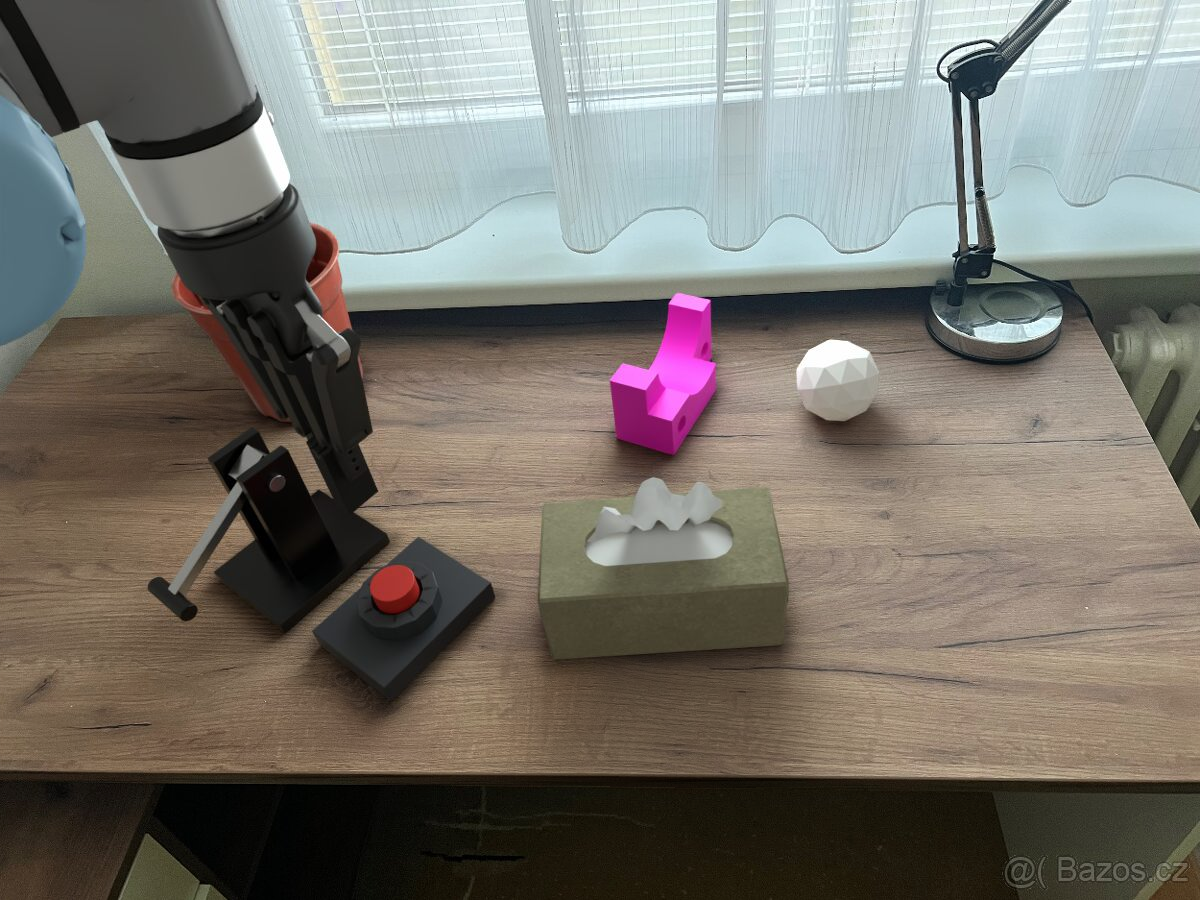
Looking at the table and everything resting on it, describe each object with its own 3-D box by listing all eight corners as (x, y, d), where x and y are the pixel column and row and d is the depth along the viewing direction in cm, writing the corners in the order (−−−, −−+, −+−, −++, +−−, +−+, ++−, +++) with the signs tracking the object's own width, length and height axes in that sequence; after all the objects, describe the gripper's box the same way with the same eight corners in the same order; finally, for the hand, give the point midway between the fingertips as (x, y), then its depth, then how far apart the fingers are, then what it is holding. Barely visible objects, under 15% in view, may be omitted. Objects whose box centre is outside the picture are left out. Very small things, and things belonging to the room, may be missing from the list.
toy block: (673, 455, 84) (670, 396, 79) (616, 438, 87) (609, 380, 82) (733, 363, 93) (733, 305, 88) (679, 350, 96) (677, 293, 90)
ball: (814, 419, 90) (800, 343, 89) (894, 408, 86) (880, 327, 85) (793, 434, 83) (777, 352, 82) (878, 422, 79) (863, 335, 78)
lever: (196, 624, 69) (172, 618, 67) (162, 595, 72) (138, 588, 70) (293, 471, 71) (273, 461, 69) (257, 448, 74) (237, 437, 71)
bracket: (285, 633, 74) (219, 528, 64) (218, 580, 79) (148, 474, 69) (390, 541, 80) (344, 433, 70) (322, 497, 85) (271, 390, 75)
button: (396, 621, 69) (390, 608, 68) (366, 600, 71) (360, 587, 70) (428, 590, 71) (423, 577, 70) (399, 571, 73) (393, 557, 72)
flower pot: (203, 414, 96) (134, 292, 85) (304, 329, 106) (255, 209, 95) (314, 455, 89) (256, 329, 78) (411, 360, 99) (372, 236, 88)
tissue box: (548, 661, 69) (515, 532, 58) (552, 563, 76) (523, 432, 65) (787, 646, 68) (799, 512, 57) (769, 548, 75) (776, 412, 64)
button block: (391, 702, 68) (377, 675, 65) (320, 645, 73) (303, 618, 70) (496, 597, 74) (487, 569, 72) (424, 551, 79) (413, 522, 76)
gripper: (356, 199, 45) (457, 503, 62) (215, 147, 52) (340, 434, 68) (235, 271, 41) (377, 574, 58) (99, 205, 48) (262, 494, 64)
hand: (357, 498), depth 63 cm, fingers closed
